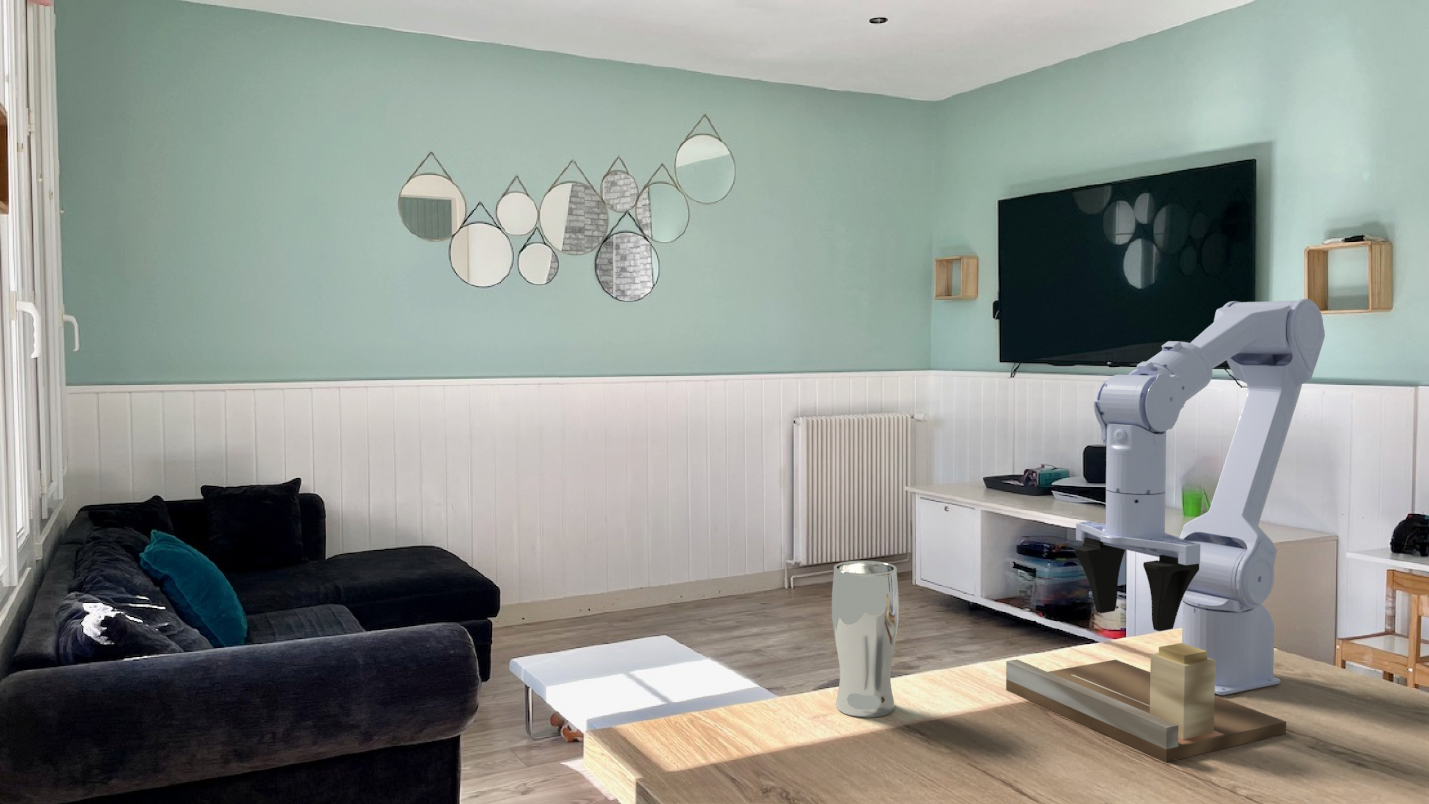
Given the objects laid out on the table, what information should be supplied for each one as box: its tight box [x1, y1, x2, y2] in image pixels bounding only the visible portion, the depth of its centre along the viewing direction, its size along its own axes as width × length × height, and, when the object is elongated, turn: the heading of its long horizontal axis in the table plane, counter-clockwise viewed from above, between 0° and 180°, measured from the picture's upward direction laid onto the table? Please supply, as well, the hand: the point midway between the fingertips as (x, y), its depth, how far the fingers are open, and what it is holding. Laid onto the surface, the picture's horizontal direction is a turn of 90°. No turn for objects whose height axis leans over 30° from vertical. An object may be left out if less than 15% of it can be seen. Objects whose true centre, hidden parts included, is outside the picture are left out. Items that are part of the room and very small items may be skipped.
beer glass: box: [831, 560, 900, 719], centre depth 111 cm, size 7×7×15 cm
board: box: [1005, 659, 1287, 763], centre depth 110 cm, size 16×22×3 cm
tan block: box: [1149, 642, 1216, 740], centre depth 101 cm, size 4×4×8 cm
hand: (1133, 620), depth 110 cm, fingers open, 7 cm apart
